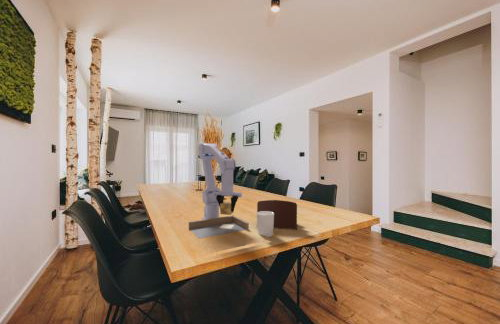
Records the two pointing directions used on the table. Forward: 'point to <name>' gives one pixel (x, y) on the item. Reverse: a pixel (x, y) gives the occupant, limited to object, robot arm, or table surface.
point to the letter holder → (280, 213)
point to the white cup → (265, 223)
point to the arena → (217, 226)
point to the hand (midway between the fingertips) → (227, 211)
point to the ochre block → (225, 208)
